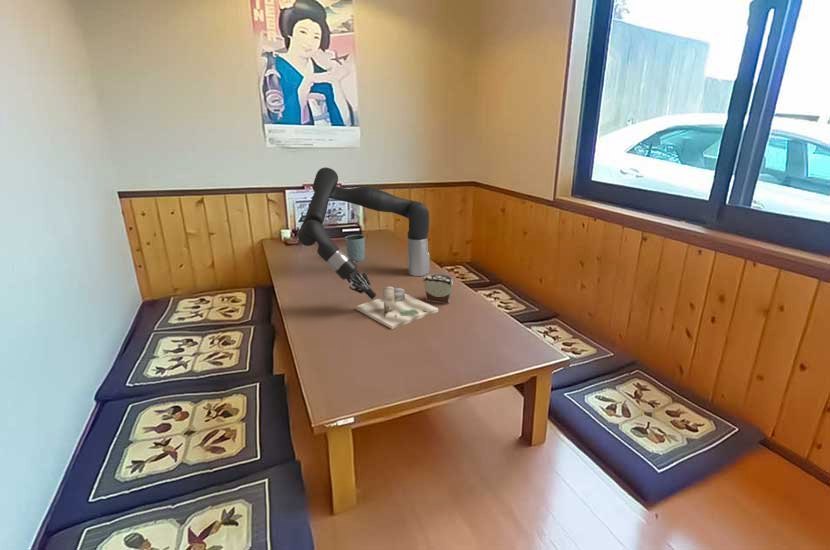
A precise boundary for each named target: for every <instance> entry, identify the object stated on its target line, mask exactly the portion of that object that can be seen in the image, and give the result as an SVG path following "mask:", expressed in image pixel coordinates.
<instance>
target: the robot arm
mask: <svg viewBox="0 0 830 550" xmlns="http://www.w3.org/2000/svg"><path fill="white" fill-rule="evenodd" d="M316 172H317V173H316V174H315V178H314V181H313V184H312V191H313V192H314V193H313V195H312V198H311V200H310V203H309V205H308V208H307V211H306V214H305V218H304V220H303V222H302V224H301V226H300V228H299V231H298V234H297V238H298V240H299V242H300V244H301V245H303V246H306V247H310V246H313V245H314V244H315V243H317V245H318V247H317V251H316V252H317V255H319V257H320V258H321V259H323V261H324V262H325V263H327V265H328V266H329V267H330V268H331V269H332V271H334V273H336V275H338V277H339V278H341V280H347V282H348V283H349V284H350V286H349V289H350V290H352V291H355V292H356V293H359V294H365V295H367V296H368V298H370V299H371V300H374V298H375V297H377V293H376V292H375V291H374V290H373V289H372V288H371V281H370V280H369V277H368V275H367V273H366V272H362V273H361V271H359V270H358V269H357V268H358V265H357V264H356V262H353V261H352V260H351V259H350V258H349V257H348V254H346V253H345V252H344V251H342V249H340V248H339V247H338V245H336V244H335V243H334V242H333V239H331V236H330V235H329V234H328V231H327V230H326V228H325V227H324V225H323V223H324V222H325V219H326V215H327V211H328V207H329V206H328V205H329V201H330V199H331V200H337V201H341V202H346V203H349V204H353V205H356V206H359V207H362V208H363V207H364V208H366V209H369V210H372V211H375V212H381V213H382V212H383V213H392V214H396V215H399V216H401V217H403V218H406V219H408V231H407V258H408V259H407V260H408V261H407V263H408V265H407V266H408V267H407V268H408V275H410V276H415V277H421V276H423V277H424V276H426V275H429V274H430V272H431V271H430V270H431V269H430V268H431V267H430V266H431V265H430V261H431V259H430V252H429V249H428V248H429V241H428V240H429V231H430V211H429V209H428V207H427V205H425V204H423V203H422V202H420V201H416V200H411V199H407V198H402V197H398V196H396V195H394V194H392V193H388V192H387V191H384V190H381V189H379V188H376V187H373V186H369V185H368V186H367V185H365V186H359V187H357V186H356V187H353V188H352V187H351V188H346V187H345V188H344V187H340V186H337V185H338V181H339V176H338V174H337V172H336V171H335V170H334V169H333V168H331V167H322V168H319V169H318V171H316ZM428 273H429V274H428Z"/></svg>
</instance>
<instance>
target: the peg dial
mask: <svg viewBox="0 0 830 550" xmlns="http://www.w3.org/2000/svg"><path fill="white" fill-rule="evenodd" d="M405 292H406V291H405V289H404V288H400V287H395V288H394V287H393V286H385V287H383V288H382V293H383V295H382V297H384V309H385V311H384V313H388V312H389V311H390V310H394V309H395V304H394V303H395V302H396V301H401V300H404V299H405V294H406V293H405Z"/></svg>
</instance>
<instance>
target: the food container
mask: <svg viewBox="0 0 830 550" xmlns="http://www.w3.org/2000/svg"><path fill="white" fill-rule="evenodd" d="M422 282H424V290H425V298H426V301H428V302H434V303H439V304H440V303H441V304H447V305H449V304H450V298H451V290H452V286H453V285H454V282H453V278H452V277H451V276H450V275H448V274H444V273H431V274H430V273H429V274H426V275H424V276H423V279H422Z"/></svg>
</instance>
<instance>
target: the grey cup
mask: <svg viewBox="0 0 830 550" xmlns="http://www.w3.org/2000/svg"><path fill="white" fill-rule="evenodd" d="M365 238H366V237H365V235H363V234H350V235H347V236H345V237H344V241H345V246H346V249H345V250H346V253H347V256H348V257H349V258H350V259H351V260H352V261H359V262H362V261H361V260H363V261H365V256H366V255H365V251H366V247H365V245H366V243H365V240H366V239H365Z"/></svg>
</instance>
